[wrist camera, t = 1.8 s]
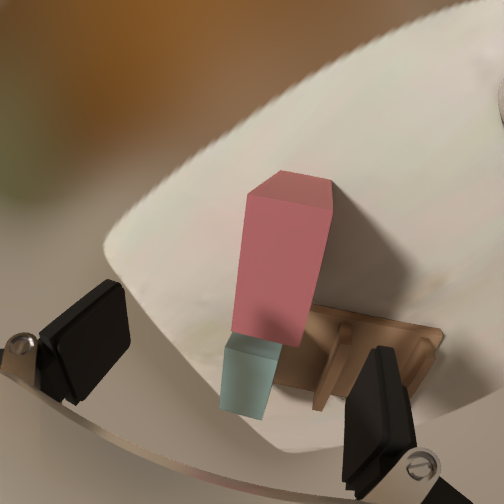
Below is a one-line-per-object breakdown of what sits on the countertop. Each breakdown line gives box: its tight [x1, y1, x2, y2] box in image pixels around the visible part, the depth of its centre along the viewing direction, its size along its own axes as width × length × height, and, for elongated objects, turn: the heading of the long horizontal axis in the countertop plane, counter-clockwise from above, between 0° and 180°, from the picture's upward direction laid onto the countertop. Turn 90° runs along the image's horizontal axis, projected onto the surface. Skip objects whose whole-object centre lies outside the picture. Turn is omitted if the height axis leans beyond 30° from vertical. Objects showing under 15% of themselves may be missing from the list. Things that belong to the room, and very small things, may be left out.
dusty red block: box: [231, 170, 333, 348], centre depth 20 cm, size 4×8×10 cm, turn 172°
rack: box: [219, 304, 443, 420], centre depth 24 cm, size 20×10×7 cm, turn 82°
